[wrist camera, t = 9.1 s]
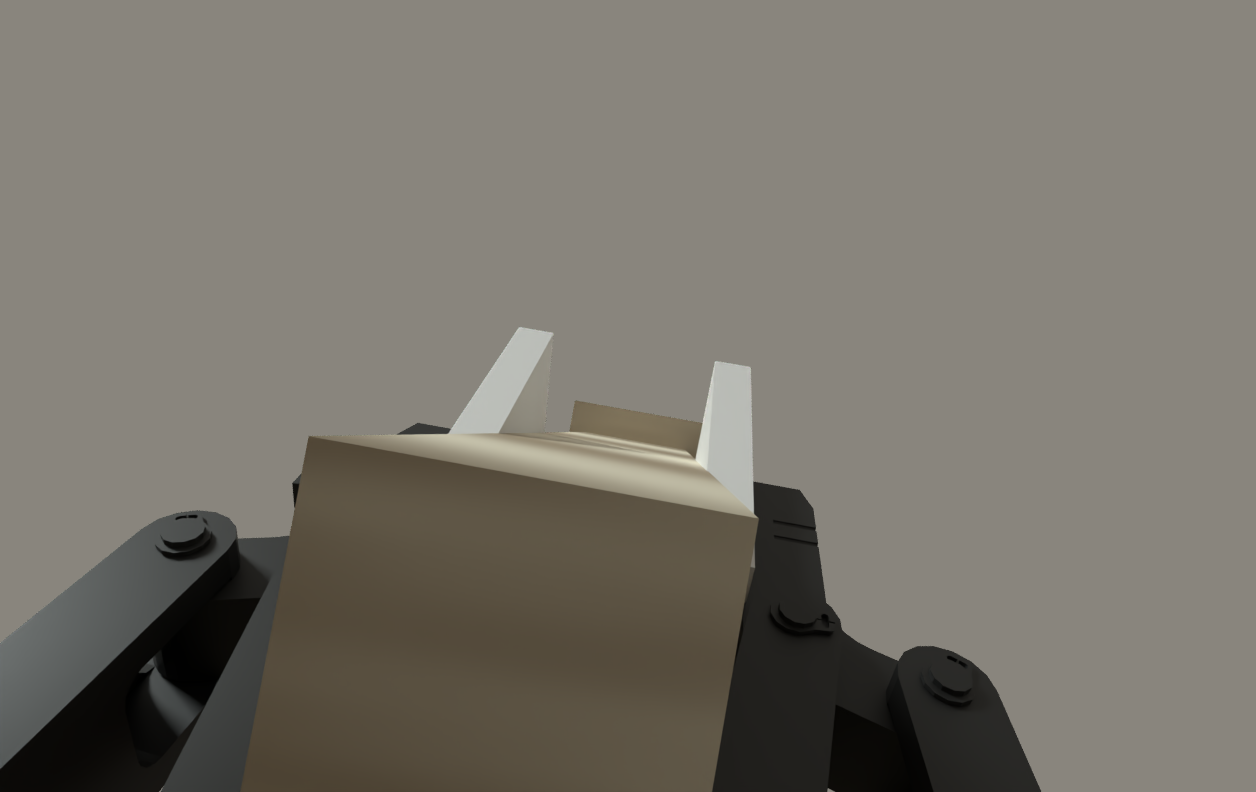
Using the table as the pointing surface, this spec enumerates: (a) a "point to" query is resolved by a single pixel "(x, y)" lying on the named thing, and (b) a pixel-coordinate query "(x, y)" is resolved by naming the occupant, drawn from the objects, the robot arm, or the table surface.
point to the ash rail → (505, 613)
